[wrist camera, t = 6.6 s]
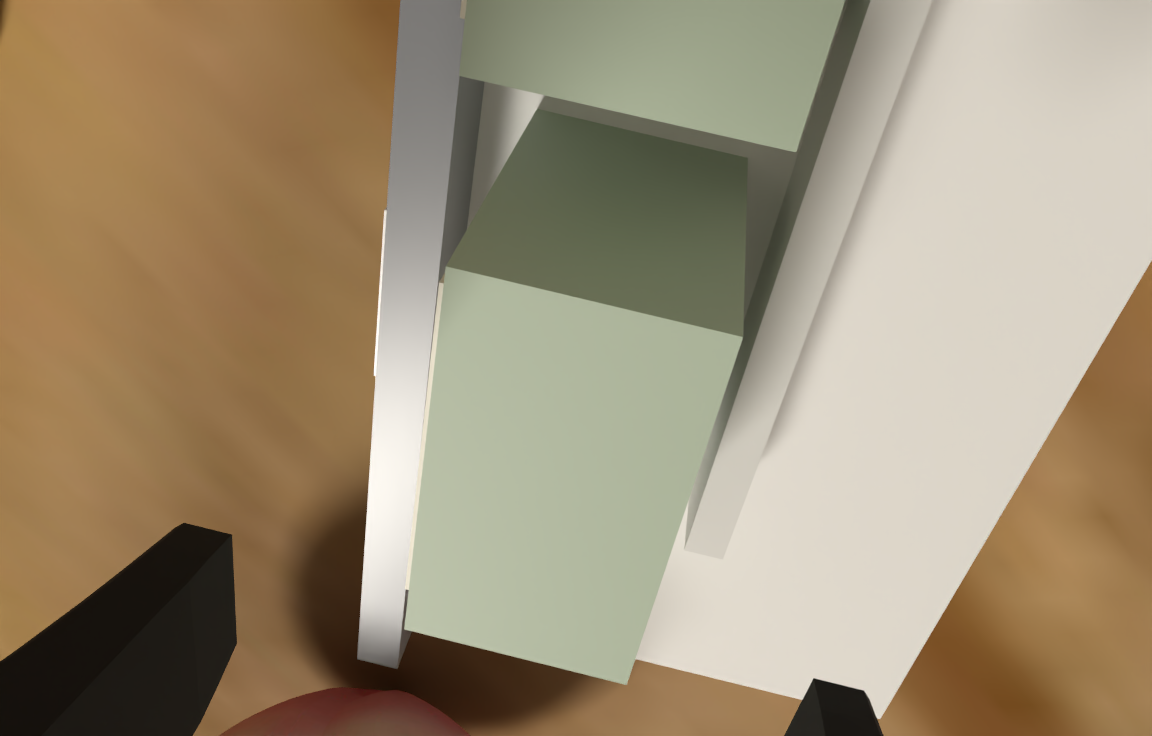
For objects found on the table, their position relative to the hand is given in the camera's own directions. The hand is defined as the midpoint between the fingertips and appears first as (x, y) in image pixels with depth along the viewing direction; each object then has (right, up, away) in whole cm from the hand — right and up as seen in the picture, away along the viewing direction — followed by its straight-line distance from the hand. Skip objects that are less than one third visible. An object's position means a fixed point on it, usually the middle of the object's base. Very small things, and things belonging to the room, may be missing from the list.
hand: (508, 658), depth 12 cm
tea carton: (+1, +5, +7) cm, 9 cm away
